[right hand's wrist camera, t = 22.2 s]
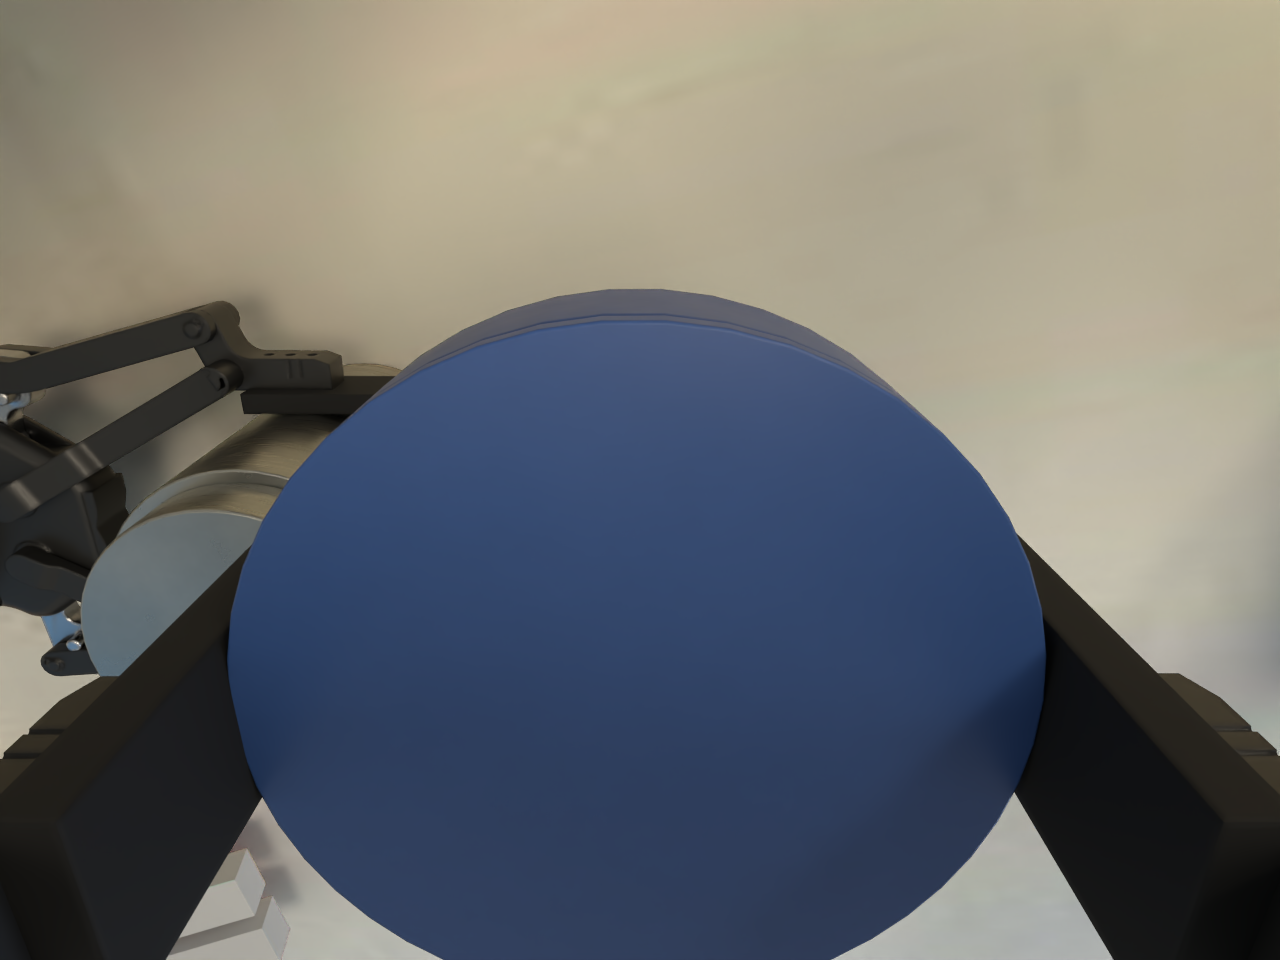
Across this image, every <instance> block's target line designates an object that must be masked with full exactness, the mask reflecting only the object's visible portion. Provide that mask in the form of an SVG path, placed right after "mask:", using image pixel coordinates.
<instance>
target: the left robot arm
mask: <svg viewBox="0 0 1280 960" xmlns="http://www.w3.org/2000/svg"><path fill="white" fill-rule="evenodd" d="M239 322H240V317H239V313H238V311H237V310H236V308H235V307H234V306H233V305H231V304H230V303H228V302H225V301H216V302H213V303H209V304H206V305H202V306H199V307H195V308H192V309H188V310H185V311H181V312H178V313H174V314H171V315H167V316H164V317H160V318H157V319H153V320H150V321H146V322H143V323H139V324H136V325H132V326H129V327H125V328H121V329H118V330H114V331H111V332H107V333H104V334H100V335H97V336H93V337H90V338H86V339H83V340H79V341H76V342H72V343H69V344H65V345H62V346H58V347H55V348H49V347H37V346H24V345H12V344H7V345H1V346H0V606H7V607H12V608H16V609H19V610H21V611H24V612H26V613H28V614H31V615H35V616H41V618H42V620H43V623H44V625H45V628H46V630H47V632H48V635H49V637H50V640H51V642H52V645H53V647H52V648H51V649H50V650H49V651H48V652H47V653H46V654H44V655H43V656H42V658H41V665H42V667H43V668H44V670H45V671H47V672H48V673H49V674H52V675H54V676H70V675H84V674H98V672H97V670H96V668H95V666H94V664H93V662H92V661H91V659H90V656H89V653H88V650H87V648H86V645H85V642H84V637H83V632H82V628H81V612H80V609H81V607H80V606H79V605H78V603H77V601H79V602H81V601H82V593H83V590H84V586H85V583H86V580H87V576H88V574H89V572H90V570H91V568H92V566H93V564H94V562H95V561H96V560H97V558H98V557H99V556H100V554H101V553H102V552H103V550H104V549H105V548H106V547H107V546H108V545H109V544H110V543H111V542H112V541H113V540H114V539H115V538H116V536H117V534H118V532H119V530H120V528H121V526H122V524H123V523H124V521H125V520H126V519H127V517H128V516H129V513H128V512H127V510H126V508H125V501H126V488H125V484H124V480H123V476H122V473H114V471H113V470H112V468H111V467H110V466H109V464H111V463H112V462H114V461H116V460H118V459H119V458H121V457H123V456H124V455H126V454H128V453H129V452H131V451H133V450H134V449H136V448H138V447H140V446H141V445H143V444H145V443H146V442H148V441H150V440H151V439H153V438H155V437H156V436H158V435H160V434H162V433H163V432H165V431H167V430H168V429H170V428H172V427H173V426H175V425H177V424H179V423H180V422H182V421H184V420H185V419H187V418H189V417H190V416H192V415H194V414H195V413H197V412H199V411H201V410H202V409H204V408H206V407H207V406H209V405H211V404H212V403H214V402H216V401H217V400H219V399H221V398H223V397H225V396H226V395H228V394H229V393H231V392H233V391H234V390H246V391H245V392H243V393H242V394H240V395H241V401H242V406H243V411H244V414H353V413H354V412H355V411H356V410H357V409H358V408H359V407H361V406H362V405H363V404H364V403H365V402H366V401H367V400H369V399H370V398H371V397H372V396H373V395H374V394H375V393H376V392H378V391H379V390H380V389H381V388H382V387H383V386H384V385H386V384H387V383H388V382H389V381H390V380H392V379H393V378H394V377H395V376H344V372H343V365H342V357H341V355H338V354H335V353H333V352H330V351H300V350H261V349H258V348H256V347H254V346H253V345H251V344H250V343H249V342H248V341H247V339H246V338H245V337H244V335H243V333H242V331H241V329H240V327H239V326H238V325H239ZM193 347H194V348H195V350H196V351H197V353H198V355H199V357H200V358H201V360H202V362H203V364H204V365H205V367H203V368H202V369H200V370H199V371H198V372H196V373H194V374H193V375H191V376H189V377H188V378H186V379H184V380H183V381H181V382H179V383H178V384H176V385H174V386H173V387H171V388H169V389H168V390H166V391H164V392H163V393H161V394H159V395H158V396H156V397H154V398H153V399H151V400H149V401H148V402H146V403H144V404H143V405H141V406H140V407H138V408H136V409H135V410H133V411H131V412H130V413H128V414H126V415H125V416H123V417H121V418H120V419H118V420H116V421H115V422H113V423H111V424H110V425H108V426H106V427H105V428H103V429H101V430H100V431H98V432H96V433H95V434H93V435H91V436H90V437H88V438H86V439H85V440H83V441H81V442H79V443H78V444H75V443H73V442H72V441H70V440H68V439H66V438H65V437H63V436H61V435H59V434H58V433H56V432H54V431H52V430H51V429H49V428H47V427H45V426H44V425H42V424H40V423H38V422H37V421H35V420H33V419H31V418H29V417H27V416H24V415H23V409H24V407H25V406H27V405H30V404H32V403H34V402H37V401H39V400H41V399H42V398H43V397H44V396H45V393H46V389H47V388H50V387H54V386H57V385H61V384H65V383H68V382H72V381H75V380H79V379H82V378H86V377H90V376H93V375H97V374H100V373H104V372H107V371H111V370H115V369H118V368H122V367H125V366H129V365H132V364H136V363H139V362H143V361H147V360H150V359H154V358H157V357H161V356H164V355H168V354H172V353H175V352H179V351H182V350H186V349H189V348H193Z"/></svg>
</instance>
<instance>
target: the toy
mask: <svg viewBox="0 0 1280 960" xmlns="http://www.w3.org/2000/svg"><path fill="white" fill-rule="evenodd" d="M265 885H266V882H265V881H264V879H263V877H262V875H261V873H260V871H259V869H258V867H257V866H256V864H255V862H254V860H253V858H252V856H251V854H250V852H249V851H248V849H247V848H245V849H242V850H238V851H235V852H232V853H229V854H228V856H227V857H226V859H225V861H224V862H223V864H222V866H221V867H220V869H219V871H218V872H217V874H216V876H215V878H214V879H213V881H212V883H211V884H210V886H209V888H208V889H207V891H206V893H205V894H204V896H203V898H202V900H201V901H200V903H199V905H198V906H197V908H196V910H195V911H194V913H193V915H192V916H191V918H190V920H189V921H188V923H187V925H186V927H185V928H184V930H183V932H182V933H181V935H180V937H179V938H178V940H177V942H176V943H175V945H174V947H173V948H172V950H171V952H170V954H169V955H168V957H167V959H166V960H281V959H282V956H283V952H284V949H285V945H286V942H287V938H288V935H289V931H290V927H289V926H288V924H287V922H286V920H285V918H284V916H283V914H282V912H281V911H280V909H279V907H278V905H277V903H276V901H275V899H274V897H273V896H269V897H266V898H263V899H261V896H262V893H263V890H264V888H265Z"/></svg>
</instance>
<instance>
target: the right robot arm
mask: <svg viewBox="0 0 1280 960" xmlns="http://www.w3.org/2000/svg"><path fill="white" fill-rule="evenodd" d="M1016 534H1017V533H1016ZM1017 536H1018V539H1019V541H1020V543H1021V545H1022V547H1023V550H1024V552H1025V554H1026V556H1027V558H1028V561H1029V563H1030V567H1031V571H1032V574H1033V578H1034V582H1035V585H1036V589H1037V593H1038V597H1039V600H1040V604H1041V608H1042V617H1043V627H1044V637H1045V647H1046V669H1045V686H1044V701H1043V705H1042V710H1041V714H1040V719H1039V723H1038V728H1037V733H1036V737H1035V742H1034V745H1033V748H1032V750H1031V753H1030V755H1029V758H1028V761H1027V763H1026V766H1025V768H1024V771H1023V774H1022V776H1021V779H1020V781H1019V784H1018V786H1017V788H1016V789H1015V791H1014V792H1015V794H1016V796H1017V797H1018V799H1019V801H1020V802H1021V804H1022V806H1023V807H1024V809H1025V811H1026V813H1027V814H1028V816H1029V818H1030V819H1031V821H1032V823H1033V824H1034V826H1035V828H1036V829H1037V831H1038V833H1039V834H1040V836H1041V838H1042V840H1043V841H1044V843H1045V845H1046V846H1047V848H1048V850H1049V851H1050V853H1051V855H1052V856H1053V858H1054V860H1055V862H1056V863H1057V865H1058V867H1059V868H1060V870H1061V872H1062V873H1063V875H1064V877H1065V878H1066V880H1067V882H1068V883H1069V885H1070V887H1071V889H1072V890H1073V892H1074V894H1075V895H1076V897H1077V899H1078V900H1079V902H1080V904H1081V905H1082V907H1083V909H1084V911H1085V912H1086V914H1087V916H1088V917H1089V919H1090V921H1091V922H1092V924H1093V926H1094V927H1095V929H1096V931H1097V932H1098V934H1099V936H1100V938H1101V939H1102V941H1103V943H1104V944H1105V946H1106V948H1107V949H1108V951H1109V953H1110V954H1111V956H1112V958H1113V959H1114V960H1280V756H1278V755H1277V750H1276V749H1275V748H1274V747H1273V746H1272V745H1271V744H1270V743H1269V742H1268V741H1267V740H1266V739H1264V738H1263V737H1262V736H1261V735H1260V734H1259V733H1258V732H1252V731H1251V726H1250V725H1249V724H1248V723H1247V722H1246V721H1245V720H1244V719H1243V718H1242V717H1241V716H1240V715H1239V714H1237V713H1236V712H1235V711H1234V710H1233V709H1232V708H1231V707H1230V706H1229V705H1228V704H1227V703H1226V702H1225V701H1223V700H1222V699H1221V698H1220V697H1218V696H1217V695H1215V694H1213V693H1211V692H1210V691H1208V690H1206V689H1205V688H1203V687H1201V686H1199V685H1198V684H1196V683H1194V682H1193V681H1191V680H1189V679H1187V678H1186V677H1184V676H1182V675H1181V674H1179V673H1157V672H1156V671H1155V670H1154V669H1153V668H1152V667H1151V666H1150V665H1149V664H1148V663H1147V662H1146V661H1145V660H1144V659H1143V658H1142V657H1140V656H1139V655H1138V654H1137V653H1136V652H1135V651H1134V650H1133V649H1132V648H1131V647H1130V646H1129V645H1128V644H1127V643H1126V642H1125V641H1124V640H1123V639H1122V638H1121V637H1120V636H1119V635H1118V634H1117V633H1116V632H1115V631H1114V630H1113V629H1112V628H1111V627H1110V626H1109V625H1108V624H1107V623H1106V622H1105V621H1104V620H1103V619H1102V618H1101V617H1100V616H1099V615H1098V614H1097V613H1096V612H1095V611H1094V610H1093V609H1092V608H1091V607H1090V606H1089V605H1088V604H1087V603H1086V602H1085V601H1084V600H1083V599H1082V598H1081V597H1080V596H1079V595H1078V594H1077V593H1076V592H1075V591H1074V590H1073V589H1072V588H1071V587H1070V586H1069V585H1068V584H1067V583H1066V582H1065V581H1064V580H1063V579H1062V578H1061V577H1060V576H1059V575H1058V574H1057V573H1056V572H1055V571H1054V570H1053V569H1052V568H1051V567H1050V566H1049V565H1048V564H1047V563H1046V562H1045V561H1044V560H1043V559H1042V558H1041V557H1040V556H1039V555H1038V554H1037V553H1036V552H1035V551H1034V550H1033V549H1032V548H1031V547H1030V546H1029V545H1028V544H1027V543H1026V542H1025V541H1024V540H1023V539H1022V538H1021V537H1020V536H1019V535H1018V534H1017ZM251 546H252V545H251ZM251 546H250V547H249V548H248V549H247V550H246V551H245V552H244V553H243V554H242V555H241V556H240V557H239V558H238V559H237V560H236V561H235V562H234V563H233V564H232V565H231V566H230V567H229V568H228V569H227V570H226V571H225V572H224V573H223V574H222V575H221V576H220V577H219V578H218V579H217V580H216V581H215V582H214V583H213V584H212V585H211V586H210V587H208V588H207V589H206V590H205V591H204V592H203V593H202V594H201V595H200V596H199V597H198V598H197V599H196V600H195V601H194V602H193V603H192V604H191V605H190V606H189V607H188V608H187V609H186V610H185V611H184V612H183V613H182V614H181V615H180V616H179V617H178V618H177V619H176V620H175V621H174V622H173V623H172V624H171V625H170V626H169V627H168V628H167V629H166V630H165V631H164V632H163V633H162V634H161V635H160V636H159V637H158V638H157V639H156V640H155V641H154V642H153V643H152V644H151V645H150V646H149V647H148V648H147V649H146V650H145V651H144V652H143V653H142V654H141V655H140V656H139V657H138V658H137V659H136V660H135V661H134V662H133V663H132V664H131V665H130V666H129V667H128V668H127V669H126V670H125V671H124V672H123V673H122V674H121V675H120V676H101V677H99V678H97V679H96V680H94V681H92V682H91V683H89V684H87V685H85V686H84V687H82V688H80V689H79V690H77V691H75V692H73V693H72V694H70V695H68V696H67V697H65V698H63V699H61V700H60V701H59V702H58V703H57V704H56V705H54V706H53V707H52V708H51V709H50V710H49V711H48V712H47V713H46V714H45V715H44V716H43V717H42V718H41V719H39V720H38V721H37V722H36V723H35V724H34V725H33V726H32V727H31V728H30V729H29V734H28V735H22V736H21V737H20V738H19V739H18V740H17V741H16V742H15V743H14V744H13V745H12V746H10V747H9V748H8V749H7V750H6V751H5V752H4V756H3V758H2V759H0V960H166V959H167V957H168V955H169V954H170V952H171V950H172V948H173V947H174V945H175V943H176V942H177V940H178V938H179V937H180V935H181V933H182V932H183V930H184V928H185V927H186V925H187V923H188V921H189V920H190V918H191V916H192V915H193V913H194V911H195V910H196V908H197V906H198V905H199V903H200V901H201V900H202V898H203V896H204V894H205V893H206V891H207V889H208V888H209V886H210V884H211V883H212V881H213V879H214V878H215V876H216V874H217V872H218V871H219V869H220V867H221V866H222V864H223V862H224V861H225V859H226V857H227V856H228V854H229V852H230V851H231V849H232V847H233V845H234V844H235V842H236V840H237V839H238V837H239V835H240V834H241V832H242V830H243V829H244V827H245V825H246V824H247V822H248V820H249V818H250V817H251V815H252V813H253V812H254V810H255V808H256V807H257V805H258V803H259V802H260V800H261V798H262V795H261V794H260V792H259V790H258V789H257V786H256V784H255V781H254V779H253V777H252V774H251V772H250V769H249V766H248V763H247V759H246V755H245V751H244V747H243V742H242V738H241V734H240V729H239V725H238V721H237V716H236V712H235V708H234V703H233V699H232V694H231V689H230V684H229V679H228V666H227V654H228V642H229V630H230V618H231V610H232V606H233V602H234V598H235V594H236V590H237V586H238V582H239V578H240V574H241V570H242V566H243V564H244V562H245V559H246V557H247V555H248V553H249V550H250V548H251Z"/></svg>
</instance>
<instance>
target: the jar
mask: <svg viewBox="0 0 1280 960" xmlns="http://www.w3.org/2000/svg"><path fill="white" fill-rule="evenodd" d="M401 371H402V370H399V369H396V368H393V367H388V366H383V365H376V364H350V365H345V366H343V372H344V376H396V375H398V374H399V373H400V372H401ZM350 415H352V414H261V415H259V416H258V417H257V418H255V419H254V420H253V421H251V422H250V423H248V424H247V425H246V426H244V427H243V428H242V429H240V430H239V431H237V432H236V433H235V434H233V435H232V436H230V437H229V438H228V439H226V440H225V441H224V442H222V443H221V444H219V445H218V446H217V447H215V448H214V449H213V450H211V451H210V452H208V453H207V454H206V455H204V456H203V457H202V458H200V459H199V460H197V461H196V462H195V463H193V464H192V465H190V466H189V467H188V468H186V469H185V470H184V471H182V472H181V473H179V474H178V475H177V476H175V477H174V478H173V479H171V480H170V481H168V482H167V483H166V484H164V485H163V486H162V487H160V488H159V489H157V490H156V491H155V492H153V493H152V494H150V495H149V496H148V497H146V498H145V499H144V500H143V501H142V502H141V503H140V504H139V505H138V506H137V507H136V508H135V509H134V510H133V511H132V512H131V513H130V515H129V516H128V517H127V519H126V520H125V521H124V523H123V524H122V526H121V528H120V530H119V532H118V534H117V536H116V538H115V539H114V540H113V541H112V542H111V543H110V544H109V545H108V546H107V547H106V548H105V549H104V550H103V552H102V553H101V554H100V556H99V557H98V558H97V560H96V561H95V562H94V564H93V566H92V568H91V570H90V572H89V574H88V576H87V580H86V583H85V586H84V590H83V593H82V601H81V609H80V612H81V628H82V632H83V637H84V642H85V645H86V648H87V650H88V653H89V656H90V659H91V661H92V662H93V664H94V666H95V668H96V670H97V672H98V674H99V675H100V677H101V676H120V675H121V674H122V673H123V672H124V671H125V670H126V669H127V668H128V667H129V666H130V665H131V664H132V663H133V662H134V661H135V660H136V659H137V658H138V657H139V656H140V655H141V654H142V653H143V652H144V651H145V650H146V649H147V648H148V647H149V646H150V645H151V644H152V643H153V642H154V641H155V640H156V639H157V638H158V637H159V636H160V635H161V634H162V633H163V632H164V631H165V630H166V629H167V628H168V627H169V626H170V625H171V624H172V623H173V622H174V621H175V620H176V619H177V618H178V617H179V616H180V615H181V614H182V613H183V612H184V611H185V610H186V609H187V608H188V607H189V606H190V605H191V604H192V603H193V602H194V601H195V600H196V599H197V598H198V597H199V596H200V595H201V594H202V593H203V592H204V591H205V590H206V589H207V588H208V587H210V586H211V585H212V584H213V583H214V582H215V581H216V580H217V579H218V578H219V577H220V576H221V575H222V574H223V573H224V572H225V571H226V570H227V569H228V568H229V567H230V566H231V565H232V564H233V563H234V562H235V561H236V560H237V559H238V558H239V557H240V556H241V555H242V554H243V553H244V552H245V551H246V550H247V549H248V548H249V547H250V546H251V545H252V543H253V541H254V539H255V536H256V534H257V532H258V529H259V527H260V525H261V523H262V520H263V519H264V517H265V516H266V514H267V513H268V511H269V510H270V508H271V506H272V505H273V503H274V502H275V500H276V499H277V497H278V496H279V494H280V492H281V491H282V489H283V488H284V486H285V485H286V483H287V482H288V480H289V478H290V477H291V476H292V475H293V474H294V473H295V471H296V470H297V469H298V468H299V467H300V466H301V465H302V464H303V462H304V461H305V460H306V459H307V458H308V457H309V456H310V455H311V453H312V452H313V451H314V450H315V449H316V448H317V447H318V446H319V444H320V443H321V442H322V441H323V440H324V439H325V438H326V437H327V436H328V435H329V434H330V433H331V432H332V431H333V430H335V429H336V428H337V427H338V426H339V425H340V424H341V423H343V422H344V421H345V420H346V419H347V418H348V417H349V416H350Z"/></svg>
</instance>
